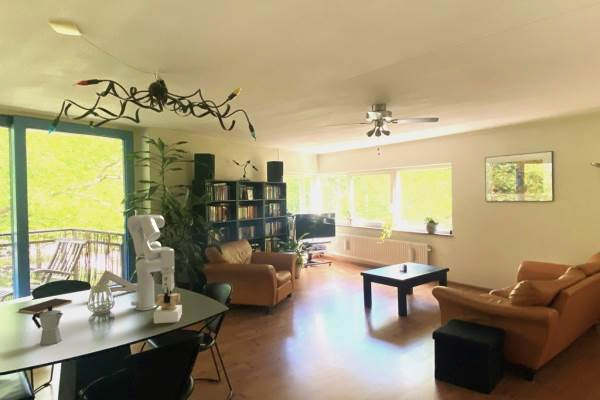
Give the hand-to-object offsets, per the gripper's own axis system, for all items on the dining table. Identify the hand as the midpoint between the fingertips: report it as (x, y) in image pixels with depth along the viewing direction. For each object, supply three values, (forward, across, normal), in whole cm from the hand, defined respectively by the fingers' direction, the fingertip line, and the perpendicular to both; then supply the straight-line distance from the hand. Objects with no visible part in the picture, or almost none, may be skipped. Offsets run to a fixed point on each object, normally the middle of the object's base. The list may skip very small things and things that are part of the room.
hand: (168, 301), depth 202 cm
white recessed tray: (+10, 0, 0) cm, 10 cm away
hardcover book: (+10, +37, +84) cm, 92 cm away
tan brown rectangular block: (+5, 0, 0) cm, 5 cm away
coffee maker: (+11, -23, +52) cm, 57 cm away
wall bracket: (+10, +55, +48) cm, 74 cm away
